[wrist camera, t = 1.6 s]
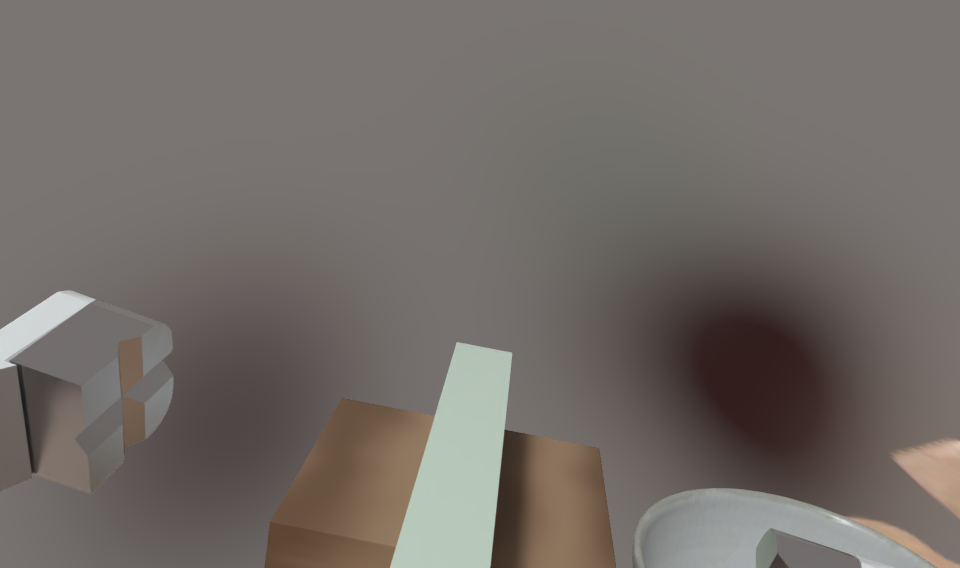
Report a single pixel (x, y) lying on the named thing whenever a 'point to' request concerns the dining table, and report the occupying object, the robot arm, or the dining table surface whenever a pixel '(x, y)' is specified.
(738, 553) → the decorative bowl
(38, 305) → the robot arm
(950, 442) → the dining table surface
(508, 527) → the wood grain block
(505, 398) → the sage block
